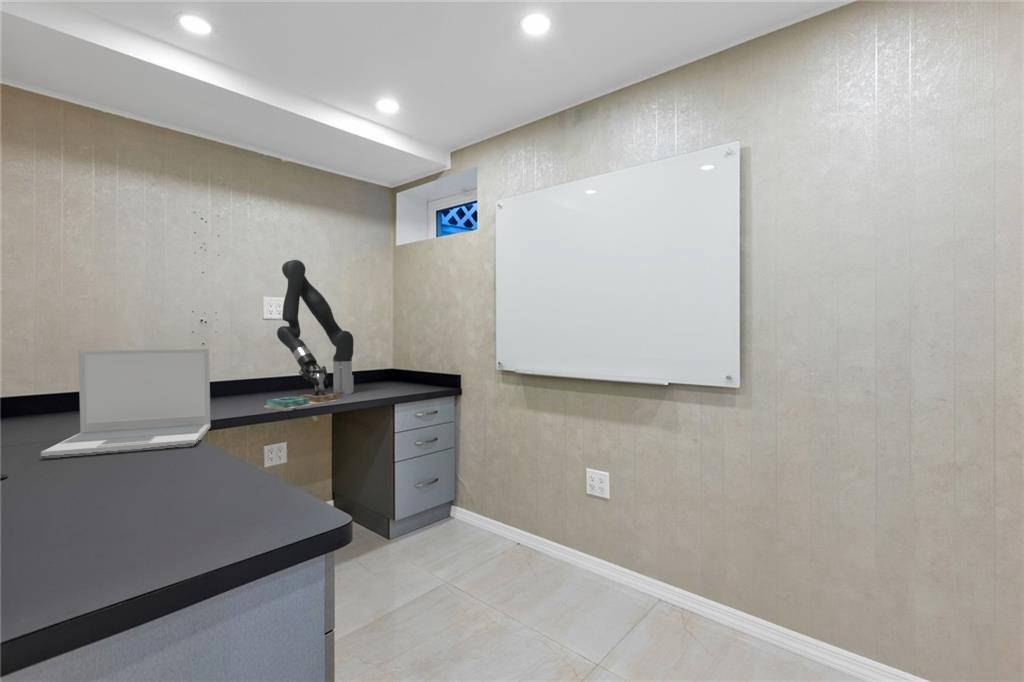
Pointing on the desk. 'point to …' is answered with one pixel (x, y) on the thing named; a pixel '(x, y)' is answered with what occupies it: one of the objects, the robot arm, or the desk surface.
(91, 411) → the laptop
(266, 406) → the dock board
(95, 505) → the desk surface
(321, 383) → the steel pin
